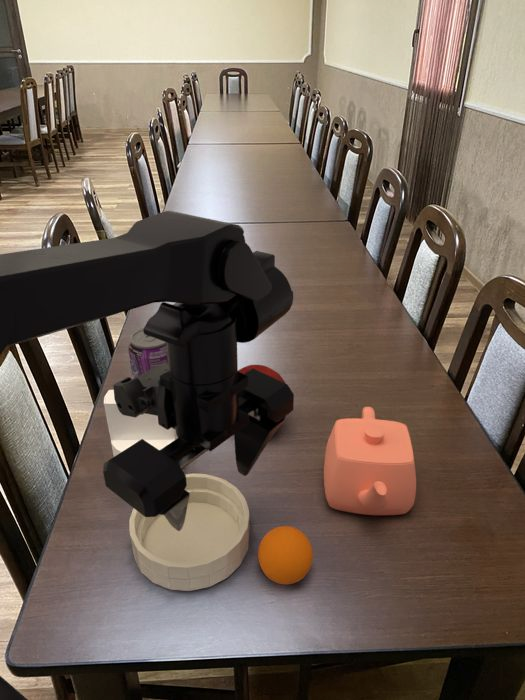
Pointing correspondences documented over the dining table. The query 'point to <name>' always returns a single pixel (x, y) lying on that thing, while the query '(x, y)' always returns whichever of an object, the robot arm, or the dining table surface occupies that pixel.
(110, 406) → the cylinder with rectangular tab
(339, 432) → the teapot
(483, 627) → the dining table surface
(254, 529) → the dining table surface
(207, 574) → the bowl
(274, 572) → the orange
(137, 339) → the beverage can
